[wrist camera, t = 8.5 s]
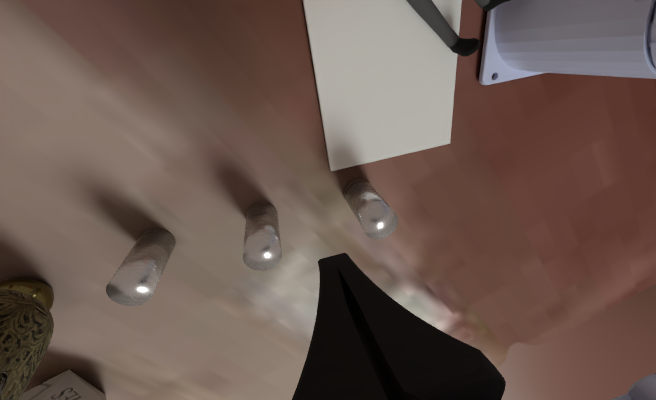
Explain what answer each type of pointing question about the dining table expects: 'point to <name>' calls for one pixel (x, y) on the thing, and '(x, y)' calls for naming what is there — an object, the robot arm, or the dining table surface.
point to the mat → (381, 77)
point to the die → (64, 389)
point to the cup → (23, 332)
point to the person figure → (440, 26)
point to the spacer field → (259, 243)
